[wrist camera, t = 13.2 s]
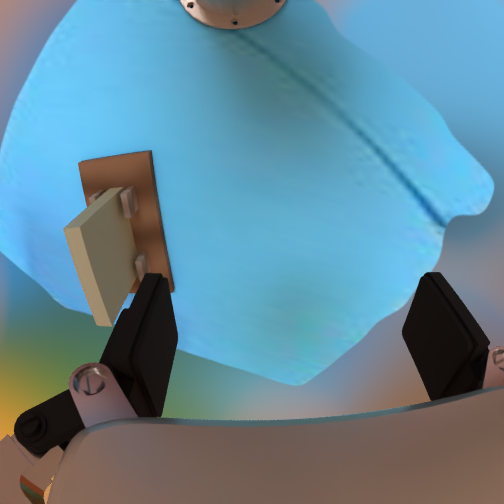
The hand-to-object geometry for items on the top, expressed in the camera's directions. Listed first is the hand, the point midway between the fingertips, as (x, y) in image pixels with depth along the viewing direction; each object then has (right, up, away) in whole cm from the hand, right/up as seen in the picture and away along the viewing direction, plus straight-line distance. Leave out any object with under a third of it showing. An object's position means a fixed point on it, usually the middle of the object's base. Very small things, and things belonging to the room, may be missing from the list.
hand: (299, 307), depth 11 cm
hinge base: (-18, +5, +30) cm, 35 cm away
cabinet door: (-18, +5, +29) cm, 34 cm away
